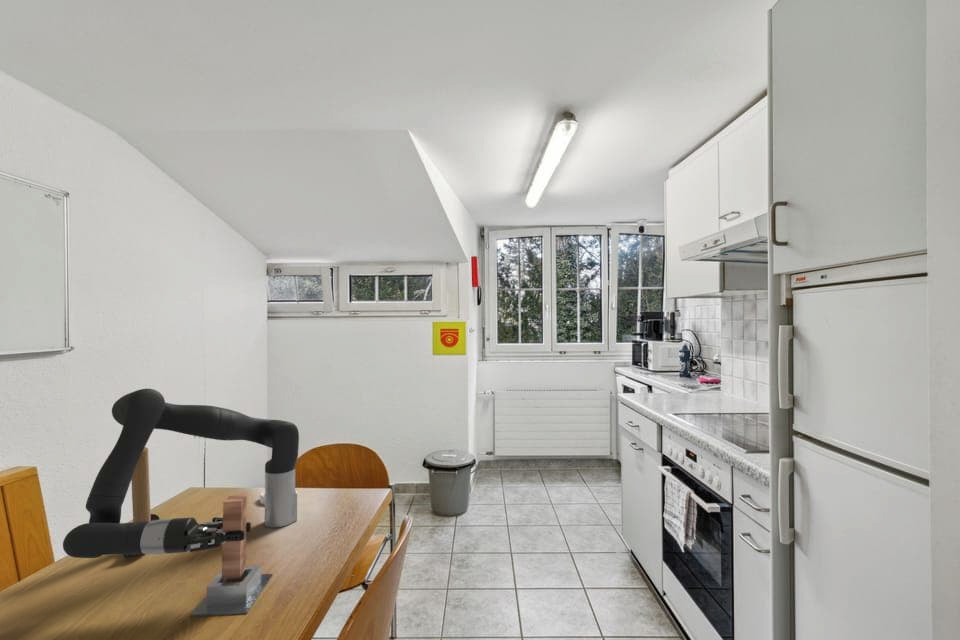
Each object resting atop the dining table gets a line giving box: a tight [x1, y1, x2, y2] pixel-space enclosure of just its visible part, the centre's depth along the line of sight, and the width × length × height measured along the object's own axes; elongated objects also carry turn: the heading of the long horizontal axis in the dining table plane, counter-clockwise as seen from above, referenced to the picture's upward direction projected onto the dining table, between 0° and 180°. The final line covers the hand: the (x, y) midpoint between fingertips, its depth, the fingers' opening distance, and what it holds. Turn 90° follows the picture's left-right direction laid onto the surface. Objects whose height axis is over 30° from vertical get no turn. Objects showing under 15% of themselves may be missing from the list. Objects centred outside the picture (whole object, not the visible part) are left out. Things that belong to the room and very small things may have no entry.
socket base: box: [190, 565, 274, 618], centre depth 110 cm, size 16×12×5 cm
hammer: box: [122, 446, 160, 558], centre depth 133 cm, size 20×5×30 cm, turn 24°
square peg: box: [221, 494, 248, 579], centre depth 110 cm, size 4×4×18 cm
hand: (247, 530), depth 111 cm, fingers closed on square peg, 4 cm apart
